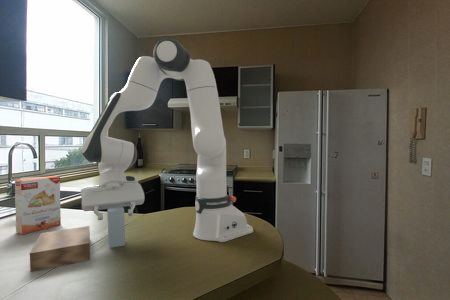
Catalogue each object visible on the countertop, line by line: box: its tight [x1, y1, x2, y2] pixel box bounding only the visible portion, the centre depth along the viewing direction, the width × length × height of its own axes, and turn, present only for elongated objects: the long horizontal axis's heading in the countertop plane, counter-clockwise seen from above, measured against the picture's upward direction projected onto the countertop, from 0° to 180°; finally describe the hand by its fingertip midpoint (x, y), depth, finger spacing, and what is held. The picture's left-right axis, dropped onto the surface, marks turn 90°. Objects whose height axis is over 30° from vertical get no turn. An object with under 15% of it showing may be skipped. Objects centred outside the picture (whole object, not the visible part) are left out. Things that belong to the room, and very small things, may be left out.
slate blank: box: [106, 206, 126, 249], centre depth 86 cm, size 5×5×12 cm
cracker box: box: [14, 175, 62, 236], centre depth 103 cm, size 14×6×21 cm, turn 149°
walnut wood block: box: [29, 225, 91, 273], centre depth 79 cm, size 14×18×5 cm
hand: (116, 217), depth 85 cm, fingers open, 8 cm apart
